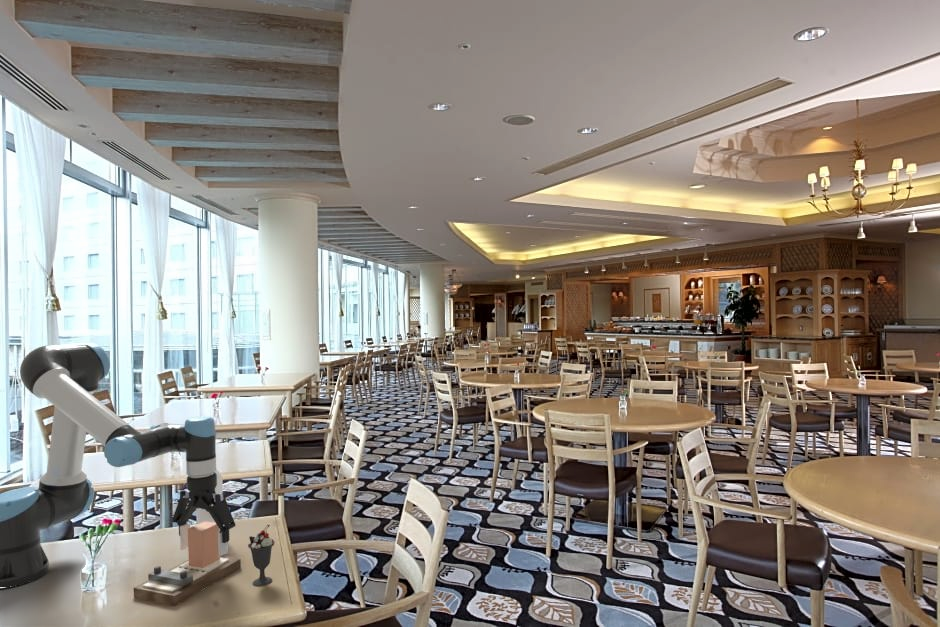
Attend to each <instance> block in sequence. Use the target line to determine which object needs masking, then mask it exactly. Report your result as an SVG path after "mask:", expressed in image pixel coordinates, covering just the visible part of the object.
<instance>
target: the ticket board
mask: <svg viewBox="0 0 940 627" xmlns="http://www.w3.org/2000/svg"><path fill="white" fill-rule="evenodd" d="M220 557H221V558H227V559H229V561H228V562H226V563H224V564H222V565H221V566H219V567H217V568H215V569H213V570H212V571H210V572H208V573H207V572H206V571H201V570H195V569H189V568H184V567H180V565H182V564H184V563H186V562H188V561H189V559H187V560H186V561H185V560H184V561H183V562H182V563H180V564H178V565H175V566H174V567H171V568H170V569H168V570H166V569H162V566H161V565H159V566H155V567H154V568H153V571H151V572H149V573H148V574H147V576H148V580H146V581H143V582H142V583H140V584H138V585H136V586H134V587H133V598H134V599H138V600H139V599H140V600H144V601H149V602H154V603H159V604H163V605H167V606H168V605H169V606H173V607H176V606H177V605H180V604H181V603H183V602H185V601H187V600H188V599H190V598H191V596H192V597H193V596H195V595H197V594H199V593H200V592H202V591H204V590H205V589H207V588H209V587H211V586H212V585H213V583H214V584H215V582H216V583H217V582H218V581H221V580H222V579H225V577H227V576H229V575H231V574H232V573H235V572H236V571H238V570H240V569H241V568H242V567H241V566H242V565H241V564H242V562H241V558H237V557H232V556H226V555H222V556H220ZM220 579H221V580H220ZM208 586H209V587H208ZM206 587H207V588H206ZM204 588H205V589H204ZM203 589H204V590H203ZM201 590H202V591H201ZM198 592H199V593H198ZM196 593H197V594H196ZM194 594H195V595H194ZM189 597H190V598H189ZM186 599H187V600H186ZM184 600H185V601H184ZM179 603H180V604H179Z"/></svg>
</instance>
